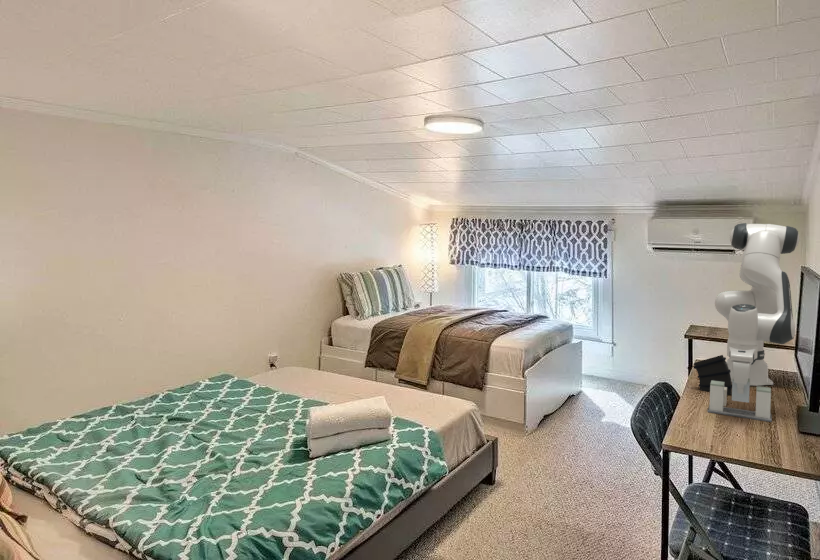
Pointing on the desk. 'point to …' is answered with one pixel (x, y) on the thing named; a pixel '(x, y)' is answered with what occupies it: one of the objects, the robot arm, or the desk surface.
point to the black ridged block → (713, 373)
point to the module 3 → (763, 402)
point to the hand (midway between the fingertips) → (740, 391)
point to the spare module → (725, 395)
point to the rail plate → (740, 413)
